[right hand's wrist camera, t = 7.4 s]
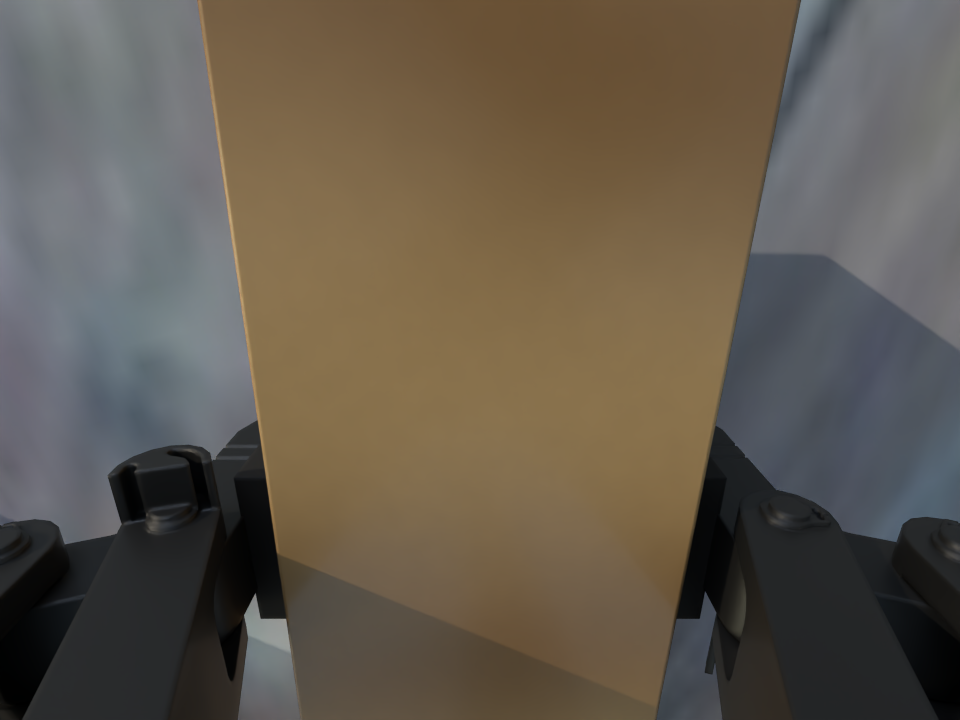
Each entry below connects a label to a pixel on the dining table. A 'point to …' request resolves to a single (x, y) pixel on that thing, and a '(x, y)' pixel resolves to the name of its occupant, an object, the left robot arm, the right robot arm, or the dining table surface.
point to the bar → (489, 328)
